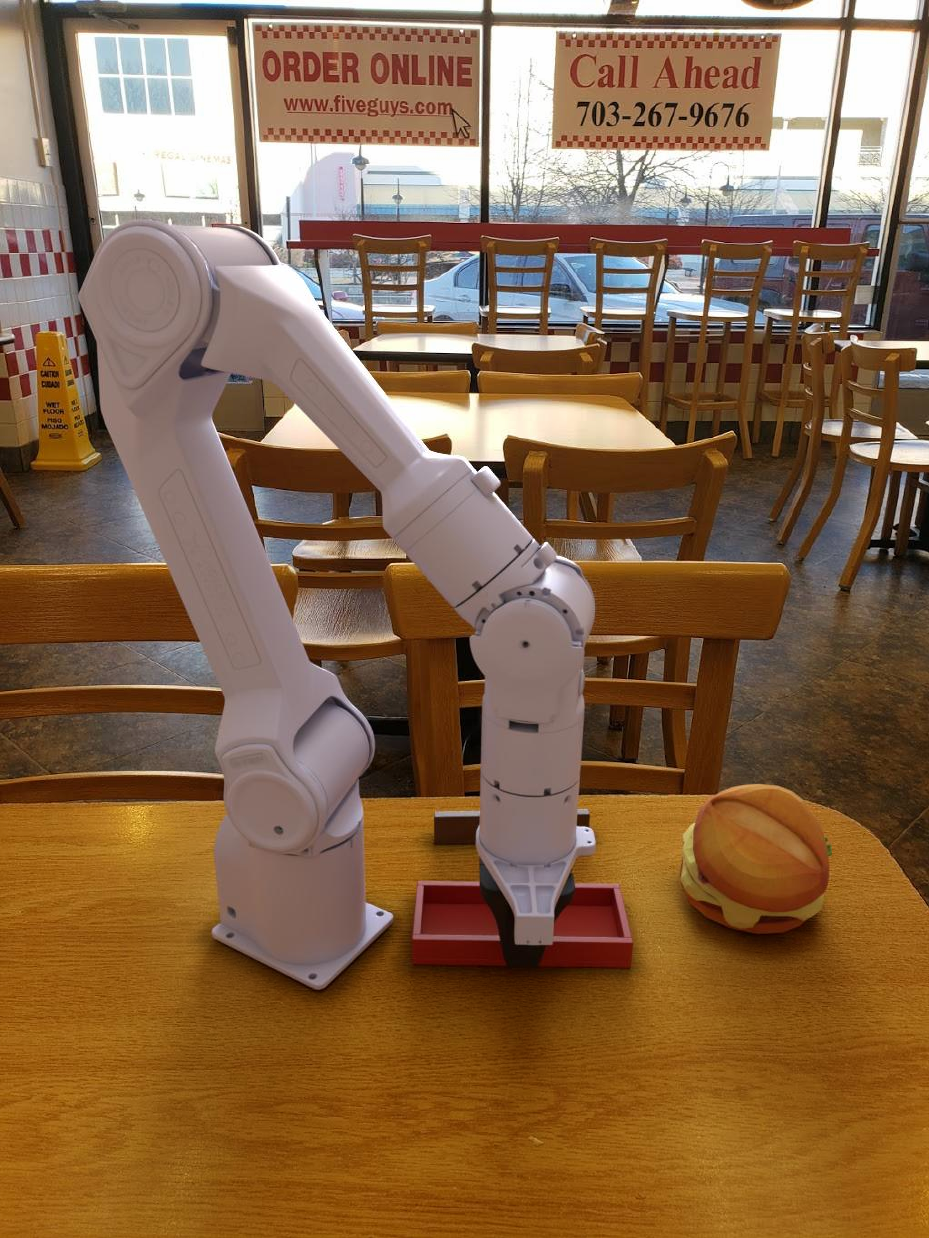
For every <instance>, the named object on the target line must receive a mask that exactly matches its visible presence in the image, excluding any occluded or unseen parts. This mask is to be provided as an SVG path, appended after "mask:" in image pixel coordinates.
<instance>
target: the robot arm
mask: <svg viewBox="0 0 929 1238" xmlns="http://www.w3.org/2000/svg"><path fill="white" fill-rule="evenodd" d="M84 278H85V279H84V281H83V283H82V286H81V288H80V290H79V292H78V295H77V299H78V302H79V304H80V307H81V309H82V311H83V313H84V316H85V318H86V320H87V322H88V325H89V328H90V330H91V332H92V334H93V337H94V339H95V341H96V353H97V368H98V369H97V370H98V389H99V390H98V391H99V405H100V411H101V415H102V418H103V421H104V425H105V427H106V429H107V431H108V434H109V436H110V438H111V440H112V443H113V444H114V447H115V450H116V452H117V454H118V457H119V458H120V461H121V463H122V465H123V468H124V471H125V472H126V475H127V477H128V479H129V483H130V484H131V487H132V488H133V492H134V493H135V495H136V498H137V500H138V502H139V504H140V507H141V510H142V511H143V514H144V516H145V518H146V521H147V523H148V526H149V528H150V531H152V534H153V537H154V539H155V542H156V543H157V546H158V548H159V550H160V553H161V556H162V558H163V560H164V562H165V564H166V567H167V569H168V571H169V573H170V576H171V578H172V581H173V583H174V585H175V587H176V590H177V592H178V594H179V597H180V599H181V601H182V603H183V606H184V608H185V610H186V613H187V615H188V618H189V619H190V622H191V625H192V626H193V629H194V631H195V633H196V636H197V638H198V640H199V642H200V645H201V647H202V649H203V651H204V653H205V657H206V658H207V661H208V664H209V666H210V668H211V670H212V672H213V674H214V678H215V679H216V682H217V684H218V686H219V689H220V690H221V693H222V696H223V697H224V706H223V710H222V715H221V719H220V722H219V723H220V724H219V727H218V731H217V732H218V733H217V736H216V741H215V744H214V745H215V747H214V755H215V757H216V759H217V761H218V763H219V766H220V768H221V771H222V776H223V783H224V784H223V805H224V808H225V812H226V814H225V815H224V817H223V818H222V820H221V822H220V825H219V826H218V829H217V832H216V835H215V840H214V844H213V845H214V846H213V860H214V871H215V878H216V879H215V880H216V890H217V891H216V892H217V899H218V900H217V901H218V910H219V920H220V922H219V923H218V924H217V925H215V926H214V927H213V928H212V929H211V937H212V938H213V939H214V940H216V941H218V942H220V943H222V944H225V945H226V946H228V947H230V948H232V949H234V950H237V951H238V952H240V953H243V954H244V955H245V956H248V957H250V958H252V959H254V960H255V961H257V962H260V963H262V964H264V965H266V966H267V967H270V968H272V969H274V970H275V971H278V972H279V973H281V974H283V975H286V976H287V977H290V978H292V979H293V980H296V981H298V982H300V983H302V984H303V985H306V986H307V987H309V988H312V989H313V990H317V991H320V990H323V989H325V988H326V987H327V986H328V985H329V984H331V982H332V981H334V980H335V979H336V978H337V977H338V976H339V975H340V974H341V973H342V972H343V971H344V970H345V969H347V967H348V966H349V965H350V964H352V962H354V960H356V959H357V957H359V956H360V955H361V954H362V953H363V952H364V951H366V949H367V948H368V947H370V945H371V944H372V943H373V942H374V941H375V940H376V939H377V938H379V937H380V935H382V934H383V933H384V932H385V931H386V930H387V929H388V928H389V927H390V926H391V925H392V924H393V923H394V915H393V913H392V912H389V911H387V910H384V909H383V908H380V907H378V906H375V905H373V904H370V903H368V902H367V901H366V900H367V899H366V898H367V896H366V895H367V894H366V865H365V837H364V836H365V833H364V806H363V803H362V799H361V795H360V779H359V777H361V776H363V774H364V773H365V772H366V771H367V769H368V768H370V766H371V764H372V762H373V759H374V756H375V751H376V740H375V735H374V731H373V729H372V726H371V725H370V723H369V722H368V720H367V718H366V717H365V715H363V713H362V712H361V711H360V710H359V709H358V708H357V707H355V706H354V704H353V703H352V701H350V700H349V699H348V698H347V696H346V694H345V692H344V691H343V689H342V686H341V684H340V681H339V679H338V676H337V675H336V674H335V673H332V672H331V671H329V670H327V669H324V668H323V667H320V666H318V665H317V664H314V663H313V662H311V661H310V658H309V657H308V654H307V651H306V648H305V647H304V644H303V641H302V639H301V637H300V634H299V632H298V629H297V627H296V624H295V622H294V620H293V616H292V615H291V612H290V609H289V607H288V605H287V602H286V599H285V597H284V595H283V592H282V590H281V587H280V584H279V582H278V580H277V577H276V575H275V572H274V569H273V568H272V565H271V562H270V560H269V557H268V555H267V553H266V550H265V548H264V545H263V543H262V541H261V538H260V536H259V533H258V530H257V528H256V525H255V523H254V520H253V518H252V515H251V512H250V511H249V508H248V506H247V503H246V500H245V499H244V496H243V493H242V491H241V488H240V486H239V483H238V481H237V478H236V476H235V473H234V471H233V468H232V466H231V463H230V461H229V458H228V455H227V453H226V450H225V449H224V446H223V444H222V441H221V439H220V436H219V434H218V431H217V429H216V426H215V424H214V422H213V414H214V413H213V412H214V410H215V408H216V406H217V404H218V403H219V401H220V397H221V396H222V394H223V392H224V390H225V388H226V385H227V384H228V381H229V380H230V377H231V375H232V374H233V375H239V376H243V377H244V376H245V377H248V378H253V379H258V380H263V381H266V382H267V381H268V382H270V383H273V384H274V385H276V387H278V388H279V389H280V390H281V391H282V392H283V393H284V394H285V395H286V396H287V397H288V398H289V399H290V400H291V401H292V402H293V404H294V405H296V407H297V408H298V409H300V410H301V412H302V413H303V414H304V415H306V416H307V418H308V419H309V420H310V421H311V422H312V423H313V424H314V425H315V426H316V427H317V428H318V429H319V430H320V431H321V432H322V434H324V435H325V436H326V437H327V438H328V439H329V441H330V442H332V443H333V444H334V445H335V447H336V448H338V450H340V451H341V453H342V454H343V455H344V456H345V457H346V458H347V459H348V460H349V461H350V462H351V463H352V464H353V465H354V466H355V467H356V468H357V469H358V471H360V472H361V474H363V476H365V478H367V480H368V481H369V482H370V483H371V484H372V485H374V487H375V488H376V489H377V490H378V491H379V492H380V494H381V504H382V528H383V530H384V531H385V532H386V533H387V534H388V536H389V537H390V538H391V539H392V540H393V541H394V543H396V545H397V546H398V547H399V548H400V549H401V550H402V552H403V553H404V554H405V555H406V556H407V557H408V558H409V560H410V561H411V562H412V563H413V564H414V565H415V567H417V569H418V570H419V571H420V572H421V573H422V574H423V576H424V577H425V578H426V579H427V580H428V581H429V582H430V583H431V585H432V586H433V587H434V588H435V589H436V591H437V592H438V593H439V594H440V595H441V596H442V597H443V598H444V600H445V601H446V602H447V603H448V604H449V605H450V607H452V608H453V610H454V611H455V612H456V613H457V614H458V616H459V617H461V619H462V620H464V621H466V622H467V623H468V624H469V625H470V626H471V627H472V628H473V629H475V630H474V631H475V632H474V634H472V635H470V636H469V647H470V652H471V655H472V658H473V660H474V662H475V664H476V666H477V667H478V669H479V670H480V672H481V673H482V674H483V675H484V694H483V696H482V701H481V739H480V741H481V746H480V778H479V779H480V780H479V781H480V783H479V784H480V788H479V811H480V825H479V826H478V829H477V831H476V844H475V848H476V853H477V854H478V856H479V857H478V868H479V869H478V871H479V873H478V874H479V875H478V877H479V879H478V880H479V882H480V891H481V894H482V897H483V899H484V901H485V902H486V904H487V905H488V906H489V908H490V909H491V911H492V913H493V915H494V918H495V920H496V923H497V927H498V931H499V937H500V943H501V948H502V953H503V957H504V960H505V963H506V965H507V966H506V967H509V968H511V967H513V968H514V967H515V968H517V967H518V968H520V967H521V968H530V967H531V968H538V967H540V966H539V964H540V962H541V959H542V957H543V954H544V951H545V948H546V945H552V944H553V930H554V923H555V921H556V920H557V918H558V917H559V915H560V914H561V912H562V911H563V910H564V909H565V908H566V907H567V906H568V905H569V904H570V903H571V902H572V899H573V896H574V893H575V883H576V882H575V876H574V873H573V872H572V871H573V866H574V864H575V862H576V860H577V858H579V857H582V856H583V857H584V856H585V857H587V856H588V857H589V856H592V855H594V854H596V849H597V841H596V836H595V832H594V830H593V829H592V828H590V826H589V827H578V826H577V811H578V809H579V796H580V795H579V793H580V780H581V768H582V754H583V753H582V752H583V736H584V722H585V706H586V704H585V698H584V695H583V692H584V689H585V685H586V684H585V683H586V676H585V671H584V666H585V665H584V664H585V663H584V662H585V647H586V644H587V642H588V639H589V636H590V634H591V632H592V628H593V625H594V622H595V617H596V615H595V614H596V600H595V595H594V592H593V589H592V587H591V585H590V584H589V582H588V580H587V579H586V577H585V576H584V573H583V569H582V568H581V566H579V565H578V564H577V563H576V562H573V561H572V560H569V559H568V558H565V557H563V556H559V555H558V553H557V552H556V550H555V549H554V548H553V547H552V546H551V544H550V543H549V542H547V541H545V542H543V543H542V544H541V545H540V544H539V542H538V541H537V540H536V539H535V538H534V537H533V536H532V535H531V534H530V532H529V531H528V530H527V528H526V527H524V525H523V524H522V523H521V521H519V519H518V518H517V517H516V516H515V514H514V513H513V512H512V511H511V510H510V509H509V507H508V506H507V505H506V504H505V502H503V501H502V500H501V498H500V497H499V496H498V495H497V494H496V493H495V491H496V490H497V489H498V488H500V487H501V484H502V483H501V480H499V478H498V477H497V476H496V475H495V473H493V471H492V469H490V468H489V467H488V466H483V467H481V469H480V470H478V471H477V470H476V469H475V468H474V467H473V466H472V464H471V463H470V462H469V461H468V459H467V458H466V457H464V456H462V455H461V456H460V455H456V454H455V455H453V454H444V453H439V452H435V451H432V450H429V448H428V447H427V446H426V445H425V443H424V442H423V440H421V438H420V436H418V434H417V433H416V432H415V430H414V429H413V427H412V426H411V425H410V424H409V423H408V421H407V420H406V419H405V417H404V416H403V415H402V413H401V412H400V411H399V410H398V408H397V407H396V405H394V403H393V402H392V401H391V399H390V398H389V397H388V395H387V394H386V393H385V391H384V390H383V389H382V388H381V387H380V385H379V384H378V382H377V381H376V379H374V377H373V376H372V375H371V374H370V372H369V371H368V369H367V368H366V367H365V365H364V364H363V363H362V362H361V361H360V359H359V358H358V356H356V354H355V353H354V352H353V350H352V349H351V348H350V347H349V345H348V344H347V342H346V341H345V340H344V339H343V337H342V336H341V335H340V333H339V332H338V331H337V329H335V327H334V326H333V324H332V323H331V322H330V321H329V319H328V318H327V317H326V315H325V314H324V313H323V311H322V310H321V308H320V306H319V305H318V304H317V302H316V300H315V298H314V296H313V295H312V293H311V291H310V289H309V287H308V286H307V284H306V282H305V281H304V279H303V278H302V277H301V276H300V275H298V274H297V273H296V272H295V271H294V270H293V269H291V268H290V267H289V266H288V265H287V264H281V262H280V260H279V258H278V256H277V254H276V252H275V250H273V248H272V247H271V245H270V244H269V243H268V242H267V241H266V240H265V239H264V238H262V237H261V236H260V235H259V234H258V233H256V232H254V231H253V230H251V229H249V228H246V227H243V226H240V225H235V224H221V225H217V226H199V225H198V226H197V225H180V224H167V223H165V222H163V221H160V220H152V219H134V220H133V219H132V220H129V221H125V222H124V223H121V224H119V225H117V226H116V227H115V228H113V229H112V230H111V231H110V232H109V233H108V234H106V236H105V237H104V238H103V239H102V240H101V242H100V243H99V246H98V248H97V250H96V251H95V254H94V256H93V259H92V261H91V264H90V266H89V269H88V271H87V273H86V276H85V277H84Z"/></svg>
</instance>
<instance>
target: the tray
mask: <svg viewBox="0 0 929 1238" xmlns="http://www.w3.org/2000/svg"><path fill="white" fill-rule="evenodd" d="M414 903H415V904H414V913H413V924H412V936H411V958H412V959H411V960H412V961H411V962H412V965H421V966H423V965H425V966H426V965H427V966H428V965H429V966H431V965H432V966H487V967H488V966H490V967H494V966H496V967H508V966H507V965H506V963H505V960H504V957H503V953H502V948H501V943H500V937H499V931H498V927H497V923H496V920H495V918H494V915H493V913H492V911H491V909H490V908H489V906H488V905H487V904H486V902H485V901H484V899H483V897H482V894H481V891H480V881H449V880H448V881H447V880H445V881H443V880H442V881H441V880H438V881H435V880H418V881H416V892H415V901H414ZM633 950H634V940H633V937H632V932H631V928H630V923H629V919H628V914H627V911H626V905H625V902H624V898H623V894H622V889H621V886H620V884H619V883H581V882H580V883H578V882H577V883H576V882H575V893H574V896H573V899H572V902H571V903H570V904H569V905H568V906H567V907H566V908H565V909H564V910H563V911H562V912H561V914H560V915H559V917H558V918H557V920H556V921H555V923H554V930H553V944H552V945H546V948H545V951H544V954H543V957H542V959H541V962H540V964H539V966H538V967H551V968H556V967H558V968H559V967H560V968H561V967H563V968H569V967H570V968H614V969H615V968H619V969H620V968H621V969H623V968H625V969H629V968H630V969H631V968H632V959H633Z"/></svg>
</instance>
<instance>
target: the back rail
mask: <svg viewBox="0 0 929 1238" xmlns="http://www.w3.org/2000/svg"><path fill="white" fill-rule="evenodd" d="M590 820H591V812H590V809H588V808H578V811H577V826H578V827H589V828H590V823H591V821H590ZM479 825H480V810H457V811H456V810H455V811H450V810H449V811H447V810H446V811H434V812H433V844H434V845H469V844H471V845H472V844H473V845H476V831H477V829H478V826H479Z"/></svg>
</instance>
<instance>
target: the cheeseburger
mask: <svg viewBox="0 0 929 1238" xmlns="http://www.w3.org/2000/svg"><path fill="white" fill-rule="evenodd" d="M682 838H683V840H682V841H681V842H682V844H683V845H682V851H681V855H682V858H681V865H680V870H679V880H680V885H681V888H682V890H683V892H684V894H685V897H686V899H687V902H688V903H689V904H690V905H691V906H692V907H693V908H694V909H696V910H697V911H698V912H699V913H701V914H702V915H703V916H704V917H705V918H707V919H709V920H712V921H713V922H716V923H718V924H720V925H723V926H724V927H726V928H729V929H731V930H737V931H742V932H747V933H751V934H755V935H759V934H760V935H761V934H762V935H763V934H783V933H786V932H788V931H790V930H792V929H795V928H798V927H800V926H802V925H803V924H804V922H805V921H807V920H808V919H810V918H813V917H814V916H815V915H817V914H818V913H819V912H820V911H821V910H822V907H823V903H824V900H825V895H824V894H825V893H826V891H827V888H828V884H829V880H830V879H829V878H830V871H831V870H830V859H829V857H831V856H832V855H833V853H832V845H831V844H830V843H827V842H828V841H829V840H828V837H825V835H824V831H823V829H822V827H821V824H820V822H819V820H818V819H817V817H816V816H815V814H814V812H812V810H811V809H810V807H809V806H808V804H807V803H806V801H805V800H804V799H803V798H801V797H800V796H799V795H798V794H796V793H795V792H794V791H793V790H790V789H787V788H785V787H782V786H779V785H777V784H776V785H773V784H765V783H764V784H763V783H753V784H751V783H750V784H742V785H737V786H731V787H729V788H726V789H723V790H721V791H719V792H718V793H716V794H715V795H713V796H712V797H711V798H710V799H709V800H707V801H706V802H705V803H704V804H703V805H701V807H700V808H699V810H698V813H697V816H696V820H695V821H694V822H693V823H692V824H690V825H689V826H688V828H687V829H686V830H685V831H684V833H683V834H682Z"/></svg>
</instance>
